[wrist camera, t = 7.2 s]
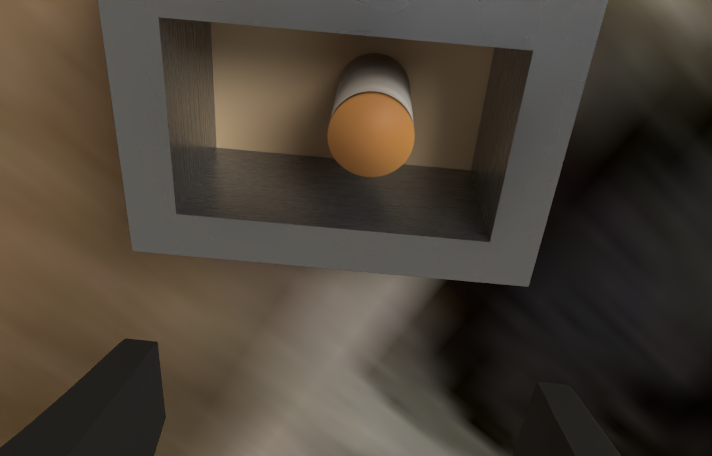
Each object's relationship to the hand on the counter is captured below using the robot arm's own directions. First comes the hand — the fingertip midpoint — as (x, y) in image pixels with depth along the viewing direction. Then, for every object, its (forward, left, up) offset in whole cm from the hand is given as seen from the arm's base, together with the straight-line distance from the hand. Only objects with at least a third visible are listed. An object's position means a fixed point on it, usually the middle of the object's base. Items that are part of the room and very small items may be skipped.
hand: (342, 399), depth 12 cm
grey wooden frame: (+1, -4, -8) cm, 9 cm away
